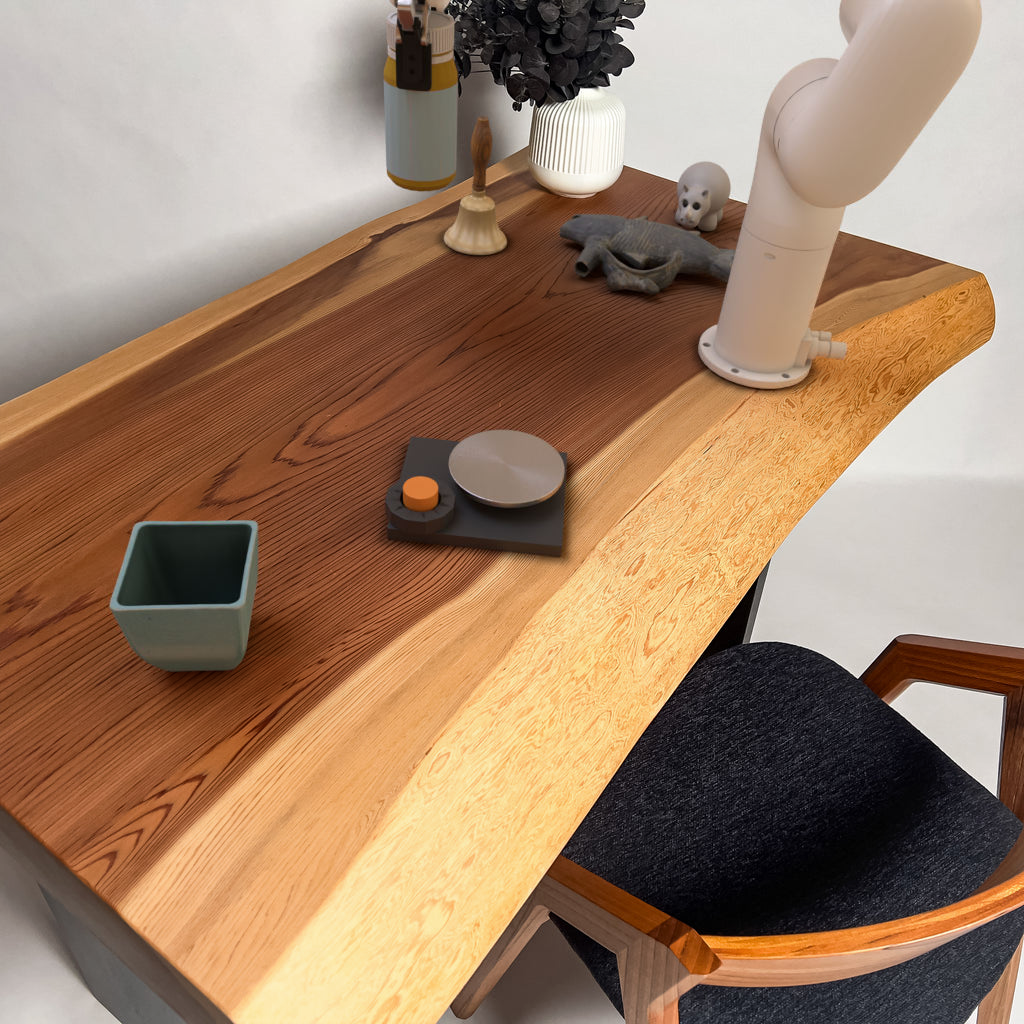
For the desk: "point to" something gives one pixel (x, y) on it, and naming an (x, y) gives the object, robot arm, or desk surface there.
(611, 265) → the grey lumpy piece
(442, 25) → the bottle
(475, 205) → the hand bell
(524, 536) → the scale
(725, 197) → the round bodied animal figurine
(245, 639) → the flower pot
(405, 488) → the tare button
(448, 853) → the desk surface
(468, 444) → the weighing platform
